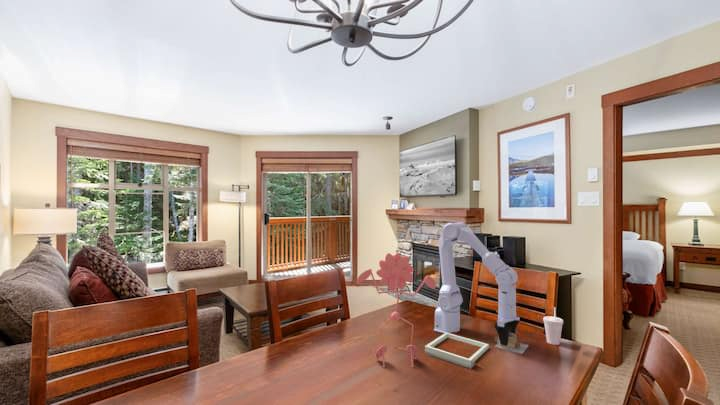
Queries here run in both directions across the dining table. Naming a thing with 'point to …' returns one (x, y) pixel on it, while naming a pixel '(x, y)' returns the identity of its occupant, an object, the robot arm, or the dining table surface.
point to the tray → (453, 357)
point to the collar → (509, 342)
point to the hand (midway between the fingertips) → (507, 341)
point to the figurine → (395, 276)
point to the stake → (517, 350)
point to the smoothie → (553, 328)
